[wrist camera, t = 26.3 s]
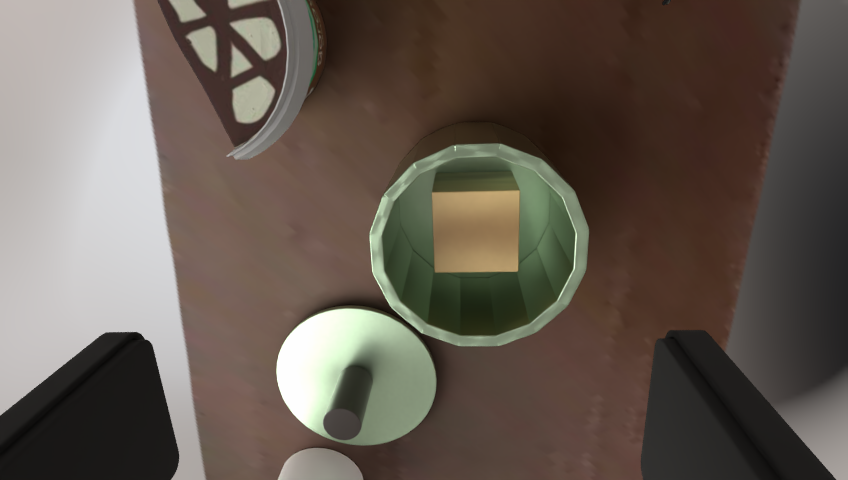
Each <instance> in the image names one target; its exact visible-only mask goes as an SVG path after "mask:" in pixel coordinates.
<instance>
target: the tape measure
mask: <svg viewBox="0 0 848 480" xmlns="http://www.w3.org/2000/svg"><path fill="white" fill-rule="evenodd" d="M670 1H671V0H664V1H663V3H662V4H663V5H665V4H666V5H667V4H668V3H670Z"/></svg>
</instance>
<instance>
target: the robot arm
mask: <svg viewBox="0 0 848 480" xmlns="http://www.w3.org/2000/svg"><path fill="white" fill-rule="evenodd" d="M178 463H179V451H178V447H177V443H176V439H175V435H174V431H173V427H172V423H171V419H170V415H169V411H168V406H167V403H166V398H165V395H164V390H163V386H162V383H161V378H160V374H159V370H158V366H157V362H156V358H155V354H154V350H153V346H152V344H151V343H150V342H149V341H148V340H145V339H144V337H143V336H142V335H141V334H140V333H137V332H109V333H105V334H103V335H101V336H100V337H99V338H97V339H96V340H95V341H93V342H92V343H91V344H90V345H88V346H87V347H86V348H85V349H83V350H82V351H81V352H80V353H78V354H77V355H76V356H75V357H73V358H72V359H71V360H70V361H68V362H67V363H66V364H65V365H63V366H62V367H61V368H59V369H58V370H57V371H56V372H54V373H53V374H52V375H51V376H49V377H48V378H47V379H46V380H44V381H43V382H42V383H41V384H39V385H38V386H37V387H36V388H34V389H33V390H32V391H31V392H29V393H28V394H27V395H26V396H25V397H23V398H22V399H21V400H19V401H18V402H17V403H16V404H14V405H13V406H12V407H11V408H9V409H8V410H7V411H6V412H4V413H3V414H2V415H1V416H0V480H171V479H172V477H173V476H174V474H175V472H176V470H177V467H178ZM641 471H642V476H643V480H836V479H835V478H834V477H833V475H832V474H831V473H830V472H829V471H828V470H827V469H826V467H825V466H824V465H823V464H822V463H821V462H820V461H819V459H818V458H817V457H816V456H815V455H814V454H813V453H812V451H811V450H810V449H809V448H808V447H807V446H806V445H805V443H804V442H803V441H802V440H801V439H800V438H799V437H798V435H797V434H796V433H795V432H794V431H793V430H792V429H791V427H789V425H788V424H787V423H786V422H785V421H784V419H783V418H782V417H781V416H780V415H779V414H778V413H777V412H776V410H775V409H774V408H773V407H772V406H771V405H770V403H769V402H768V401H767V400H766V399H765V398H764V397H763V395H762V394H761V393H760V392H759V391H758V390H757V389H756V387H754V385H753V384H752V383H751V382H750V381H749V380H748V378H747V377H746V376H745V375H744V374H743V373H742V372H741V370H740V369H739V368H738V367H737V366H736V365H735V363H734V362H733V361H732V360H731V359H730V358H729V357H728V355H727V354H726V353H725V352H724V351H723V350H722V349H721V347H720V346H719V345H718V344H717V343H716V342H715V341H714V339H713V338H712V337H711V336H710V335H709V334H708V333H707V332H706V331H703V330H670V331H669V332H668V333H667V335H666V337H665V339H658V340H657V341H656V344H655V350H654V358H653V366H652V374H651V382H650V390H649V398H648V406H647V414H646V422H645V430H644V438H643V446H642V454H641Z"/></svg>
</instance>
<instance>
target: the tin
mask: <svg viewBox="0 0 848 480" xmlns="http://www.w3.org/2000/svg"><path fill="white" fill-rule="evenodd" d="M495 171H512V173H513V175H514V177H515V180H516V182H517V184H518V187H519V189H520V228H519V271H518V272H447V273H435V272H434V248H433V220H432V188H433V183H434V178H435V174H436V173H456V172H495ZM369 238H370V250H371V263H372V272H373V275H374V277H375V279H376V281H377V283H378V284H379V286H380V288H381V290H382V292H383V294H384V296H385V298H386V300H387V301H388V303H389V305H390V307H391V308H392V309H393V310H394V311H395V312H397V313H398V314H399V315H400V316H401V317H403V318H404V319H405V320H406V321H407V322H409V323H410V324H411V325H412V326H413V327H414V328H416V329H417V330H418V331H419V332H421V333H422V334H425V335H428V336H431V337H434V338H436V339H439V340H442V341H445V342H448V343H450V344H453V345H456V346H501V345H503V344H506V343H509V342H512V341H515V340H517V339H520V338H523V337H526V336H529V335H531V334H534V333H536V332H538V331H539V330H540V329H541V328H542V327H544V326H545V325H546V324H547V323H548V322H550V321H551V320H552V319H553V318H554V317H555V316H557V315H558V314H559V313H560V312H561V311H563V310H564V309H565V308H566V307H567V306H568V304H569V302H570V301H571V299H572V297H573V295H574V293H575V291H576V289H577V287H578V285H579V283H580V282H581V280H582V278H583V276H584V274H585V272H586V269H587V255H588V241H589V227H588V225H587V222H586V219H585V217H584V214H583V211H582V209H581V206H580V204H579V201H578V198H577V196H576V193H575V191H574V190H573V188H572V187H571V186H570V184H569V183H568V182H567V181H566V180H565V178H564V177H563V176H562V175H561V173H560V172H559V171H558V170H557V169H556V167H555V166H554V165H553V164H552V162H551V161H550V160H549V159H548V158H547V157H546V156H545V155H544V154H543V153H542V152H541V151H540V150H539V149H538V148H537V147H536V146H535V145H534V144H533V143H532V142H531V141H530V140H529V139H528V138H527V137H526V136H524V135H523V134H521V133H518V132H516V131H514V130H512V129H509V128H507V127H504V126H501V125H498V124H495V123H492V122H465V123H456V124H453V125H450V126H447V127H445V128H442V129H439V130H438V131H436V132H434V133H432V134H430V135H428V136H426V137H424V138H423V139H421V141H420V142H419V143H418V144H417V145H416V146H415V147H414V148H413V149H412V150H411V151H410V152H409V153H408V155H407V156H406V157H405V158H404V159H403V160H402V161H401V162H400V164H399V165H398V167H397V169H396V171H395V173H394V175H393V177H392V179H391V181H390V182H389V184H388V186H387V188H386V190H385V192H384V194H383V196H382V198H381V201H380V204H379V207H378V210H377V213H376V215H375V218H374V221H373V224H372V227H371V230H370V234H369Z"/></svg>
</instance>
